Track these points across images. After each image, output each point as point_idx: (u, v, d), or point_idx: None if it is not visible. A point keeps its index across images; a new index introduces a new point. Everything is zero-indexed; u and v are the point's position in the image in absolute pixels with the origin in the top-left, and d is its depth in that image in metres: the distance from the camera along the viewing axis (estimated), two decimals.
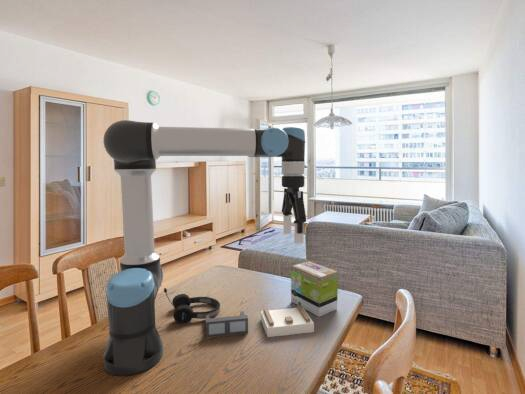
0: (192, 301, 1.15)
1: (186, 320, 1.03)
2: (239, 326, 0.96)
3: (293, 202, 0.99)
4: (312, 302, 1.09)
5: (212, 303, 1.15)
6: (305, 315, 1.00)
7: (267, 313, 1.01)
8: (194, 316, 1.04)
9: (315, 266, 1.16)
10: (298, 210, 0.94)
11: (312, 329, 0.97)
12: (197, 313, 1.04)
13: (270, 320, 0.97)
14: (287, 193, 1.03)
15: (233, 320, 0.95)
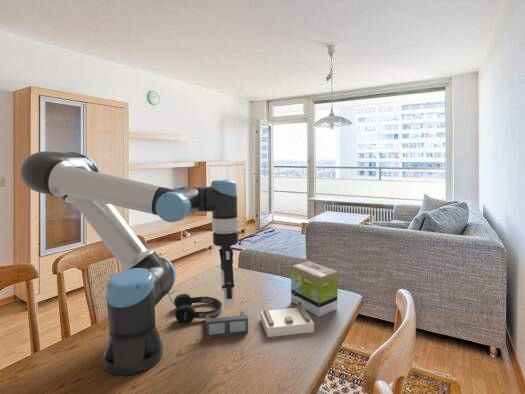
0: (194, 301, 1.16)
1: (188, 320, 1.03)
2: (239, 326, 0.96)
3: (223, 262, 0.90)
4: (312, 302, 1.09)
5: (214, 303, 1.16)
6: (305, 315, 1.00)
7: (267, 313, 1.01)
8: (196, 316, 1.04)
9: (315, 266, 1.16)
10: (225, 274, 0.85)
11: (312, 329, 0.97)
12: (199, 313, 1.04)
13: (270, 320, 0.97)
14: (220, 250, 0.94)
15: (233, 320, 0.95)
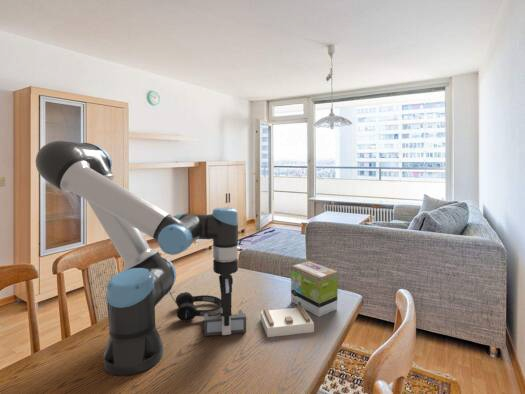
0: (195, 299, 1.16)
1: (189, 318, 1.03)
2: (237, 324, 0.96)
3: (223, 292, 0.93)
4: (312, 302, 1.09)
5: (215, 302, 1.16)
6: (305, 315, 1.00)
7: (267, 313, 1.01)
8: (197, 314, 1.04)
9: (315, 266, 1.16)
10: (224, 306, 0.90)
11: (312, 329, 0.97)
12: (200, 311, 1.05)
13: (270, 320, 0.97)
14: (220, 276, 0.95)
15: (231, 318, 0.95)
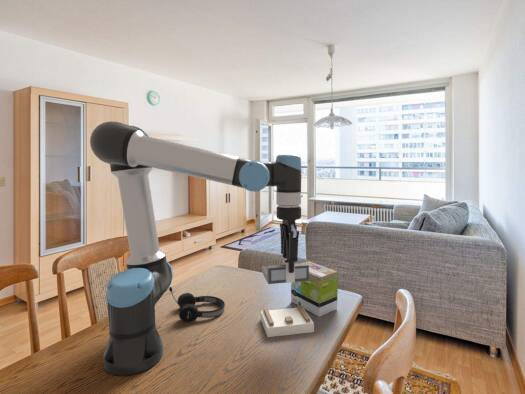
0: (197, 300, 1.16)
1: (191, 319, 1.04)
2: (300, 273, 0.96)
3: (287, 238, 0.93)
4: (312, 302, 1.09)
5: (217, 302, 1.16)
6: (305, 315, 1.00)
7: (267, 313, 1.01)
8: (199, 315, 1.05)
9: (315, 266, 1.16)
10: (291, 251, 0.90)
11: (312, 329, 0.97)
12: (202, 312, 1.05)
13: (270, 320, 0.97)
14: (282, 224, 0.95)
15: (295, 267, 0.95)
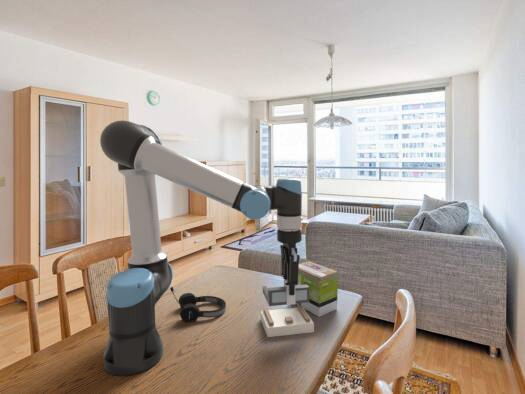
0: (198, 300, 1.16)
1: (193, 319, 1.04)
2: (301, 295, 0.96)
3: (288, 261, 0.93)
4: (312, 302, 1.09)
5: (218, 302, 1.16)
6: (305, 315, 1.00)
7: (267, 313, 1.01)
8: (200, 315, 1.05)
9: (315, 266, 1.16)
10: (291, 275, 0.91)
11: (312, 329, 0.97)
12: (203, 312, 1.05)
13: (270, 320, 0.97)
14: (283, 246, 0.96)
15: (295, 289, 0.96)
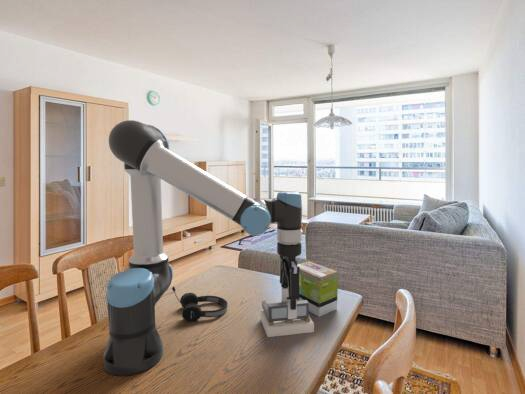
0: (199, 300, 1.16)
1: (194, 319, 1.04)
2: (300, 311, 0.97)
3: (288, 274, 0.93)
4: (312, 302, 1.09)
5: (219, 302, 1.16)
6: None
7: None
8: (202, 315, 1.05)
9: (315, 266, 1.16)
10: (292, 288, 0.90)
11: (312, 329, 0.97)
12: (205, 312, 1.05)
13: None
14: (283, 259, 0.96)
15: None
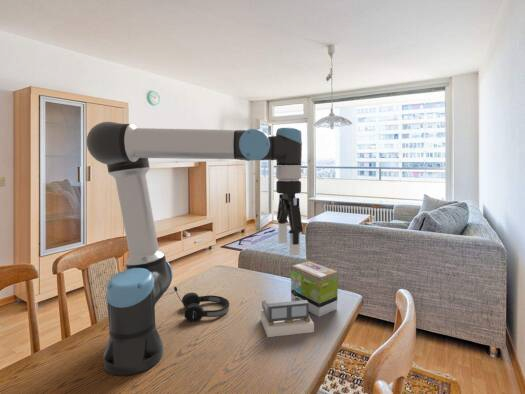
0: (201, 300, 1.17)
1: (196, 318, 1.04)
2: (300, 311, 0.97)
3: (288, 210, 0.90)
4: (312, 302, 1.09)
5: (221, 302, 1.17)
6: None
7: None
8: (204, 314, 1.05)
9: (315, 266, 1.16)
10: (294, 219, 0.86)
11: (312, 329, 0.97)
12: (207, 311, 1.05)
13: None
14: (282, 199, 0.94)
15: (294, 304, 0.97)
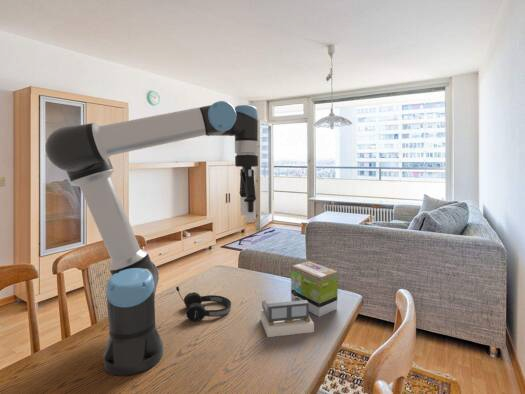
0: (203, 299, 1.17)
1: (198, 318, 1.04)
2: (300, 311, 0.97)
3: (245, 181, 0.98)
4: (312, 302, 1.09)
5: (223, 301, 1.17)
6: None
7: None
8: (206, 314, 1.05)
9: (315, 266, 1.16)
10: (248, 188, 0.93)
11: (312, 329, 0.97)
12: (209, 311, 1.05)
13: None
14: (241, 173, 1.02)
15: (294, 304, 0.97)
